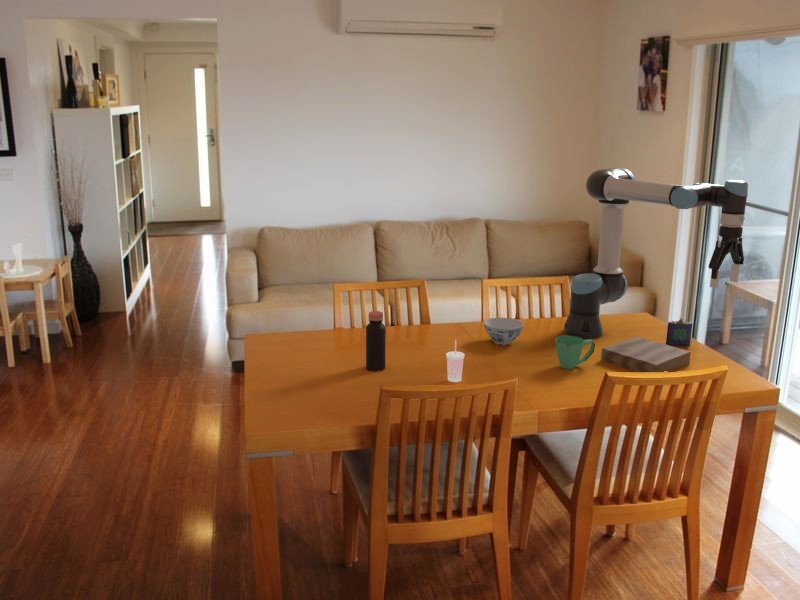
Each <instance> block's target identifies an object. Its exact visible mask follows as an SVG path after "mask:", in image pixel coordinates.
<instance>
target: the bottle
mask: <svg viewBox="0 0 800 600" xmlns="http://www.w3.org/2000/svg"><path fill="white" fill-rule="evenodd" d="M368 321H369V323H368V324H367V325H366V326H365V368H366V369H367V370H368V369H369V370H368V371H370V370H374V371H373V372H378V371H377V370H381V371H383V369H384V370H385V369H386V343H387V342H386V339H387V338H386V337H387V335H386V334H387V333H386V330H387V329H386V326H385V324H384V323H383V321H384V312H383V311H378V310H371V311H369V312H368Z"/></svg>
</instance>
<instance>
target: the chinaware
mask: <svg viewBox="0 0 800 600" xmlns="http://www.w3.org/2000/svg"><path fill="white" fill-rule="evenodd" d="M483 325H484V326H483V327H484V329H485V330H484V331H486V334H487V335H488V337H490V339H492V340H493V342H495V343H494V344H496V343H497V344H496V345H499V344H502V345H501V346H507V345H506V344H509V345H511V344H512V343H511V342H513V341H514V340H516V339H518V337H519V336H520V335H521V333H522V331H523V328H524V323H523V321H521V320H518V319H515V318H511V317H491V318H488V319H486V320H484V322H483ZM510 343H511V344H510Z"/></svg>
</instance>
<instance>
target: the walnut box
mask: <svg viewBox="0 0 800 600" xmlns="http://www.w3.org/2000/svg"><path fill="white" fill-rule="evenodd" d="M691 353H692V352H691V351H690V350H686V349H683V348H679V347H677V346H670V345H666V343H661V342H657V341H654V340H650V339H647V338H644V337H639V336H635V337H632V338H628V339H625V340H623V341H620V342H616V343H614V344H611V345H608V346H605V347H602V348H601V356H600V357H601V358H600V360H601V361H602V360H603V361H602V362H605V361H606V362H605V363H608V362H609V363H608V364H611V363H612V365H615V364H616V366H618V367H621V368H624V369H627V370H631V371H633V370H634V372H636V371H637V373H639V372H664V371H670V372H672V371H675V370H677V369H679V368H682V367H684V366H687V365H689V364H690V363H691V362H690V360H691Z"/></svg>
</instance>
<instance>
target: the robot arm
mask: <svg viewBox="0 0 800 600" xmlns="http://www.w3.org/2000/svg"><path fill="white" fill-rule="evenodd" d="M748 188H749V184H748V182H747V181H745V180H740V179H739V180H736V179H728V180H726V181H725V182H724V185H723V184H722V185H721V184H713V183H706V182H695V183H693V184H692V185H683V184H682V185H680V184H673V183H664V182H656V181H655V182H653V181H646V180H638V179H636V178H635V176H634V174H633V173H632V171H630V170H629V169H627V168H622V167H621V168H620V167H613V168H607V169H606V168H605V169H604V168H603V169H597V170H595V171H593V172H592V173H591V174H590V175H589V176H588V177H587V179H586V183H585V190H586V192H587V194H588V195H589V196H590V197H591V198H593V199H594V200H598V204H599V205H600V206H601V214H600V215H601V217H600V231H599V242H598V256H597V265H596V266H595V267H594V268H593V271H592V273H591V272H590V273H589V272H587V273H580V274H577V275H575V276H574V277H573V278H572V280H571V285H570V299H569V300H570V301H569V313H568V316H567V317H566V320H565V323H564V325H563V333H564V334H565V335H566V336H575V337H579V338H581V339H596V338H600V337H601V336H602V335H603V327H602V322H601V317H600V309H601V305H605V304H608V303H614V302H617V301H618V300H620V299H622V298H623V297H624V296H625V294H626V293H627V290H628V280H627V279H626V277H625V275H624V270H623V269H622V268H621V267H620V265H621V251H622V241H623V231H624V229H623V227H624V217H625V208H626V207H627V206H628V205H629V204H630V202H631V201H632V202H639V203H647V204H654V205H660V206H670V207H671V206H672V207H674V208H676V209H678V210H689V209H692V208H699V207H705V206H709V207H710V206H711V207H719V208H721V213H720V220H719V224H720V225H719V227H718V228H719V230H718V235H719V237H721V240H716V241H715V246H714V247H715V248H714V249H713V253H712V255H711V258H710V261H709V263H708V269H709V270H711V275H710V282H709V288H714V289H718V288H719V286H720V285H719V284H720V283H719V282H720V277H721V276H720V275H721V269H720V268H721V266H722V264H723V262H724V260H725V258H726V257H727V255H729V254H730V257H731V261H732V263H731V265H730V266H731V267H730V273H729V282H732V283H738V282H739V276H740V275H739V274H740V266H741V265H744V261H745V255H744V249H743V237H742V236H743V231H744V227H743V225H744V221H745V219H746V218H745V213H746V206H747V199H748V196H749V195H748V190H749V189H748Z"/></svg>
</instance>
